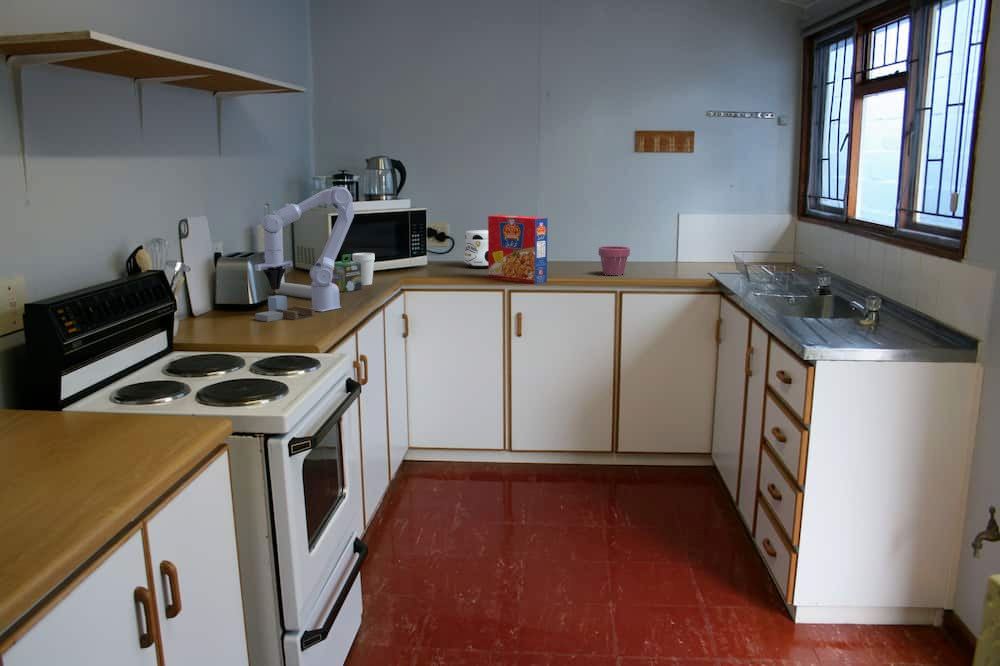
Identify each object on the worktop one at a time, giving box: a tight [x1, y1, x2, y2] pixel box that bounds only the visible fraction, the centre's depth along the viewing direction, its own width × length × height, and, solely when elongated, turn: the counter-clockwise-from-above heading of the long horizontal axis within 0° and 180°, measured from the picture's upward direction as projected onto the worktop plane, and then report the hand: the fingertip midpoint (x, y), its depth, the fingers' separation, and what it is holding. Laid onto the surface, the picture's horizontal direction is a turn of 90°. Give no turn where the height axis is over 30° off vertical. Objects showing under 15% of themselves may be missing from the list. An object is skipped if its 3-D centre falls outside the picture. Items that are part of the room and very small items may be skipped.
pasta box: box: [487, 214, 548, 285], centre depth 351 cm, size 28×8×28 cm, turn 46°
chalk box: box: [331, 253, 363, 293], centre depth 325 cm, size 9×9×15 cm
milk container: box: [463, 229, 488, 269], centre depth 395 cm, size 17×17×18 cm
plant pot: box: [598, 245, 631, 276], centre depth 368 cm, size 14×14×13 cm
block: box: [267, 294, 288, 312], centre depth 276 cm, size 4×4×6 cm
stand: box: [254, 310, 284, 323], centre depth 266 cm, size 6×6×2 cm
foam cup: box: [351, 252, 376, 286], centre depth 342 cm, size 10×9×13 cm
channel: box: [276, 305, 316, 320], centre depth 271 cm, size 8×10×2 cm
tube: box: [276, 282, 312, 300], centre depth 311 cm, size 5×5×25 cm
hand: (275, 289), depth 275 cm, fingers closed
